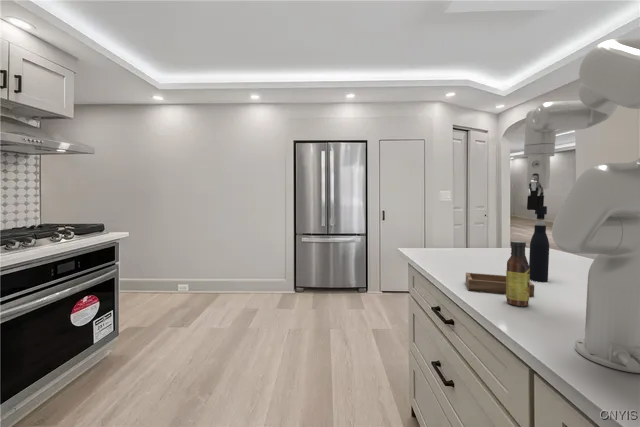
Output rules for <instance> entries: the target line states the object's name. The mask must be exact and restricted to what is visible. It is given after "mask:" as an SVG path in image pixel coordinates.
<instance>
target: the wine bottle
mask: <svg viewBox="0 0 640 427" xmlns="http://www.w3.org/2000/svg"><path fill="white" fill-rule="evenodd" d="M547 212H548V206H547V205H544V206H543V208H540V210H534V214H535V215H536V220H535V224H534V229H533V230H534V231H533V234H532V237H531V239H530V242H529V257H528V258H529V259H528V264H529V267H530V281H532V280H533V281H532V282H536V281H537V283H547V282H548V281H549V262H550V260H549V259H550V241H549V237H548V235H547V225H546V221H545V218H546V216H545V215H547V214H548V213H547Z"/></svg>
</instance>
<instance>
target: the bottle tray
mask: <svg viewBox="0 0 640 427" xmlns="http://www.w3.org/2000/svg"><path fill="white" fill-rule="evenodd" d="M529 283H530V284H529V286H530V287H529V298H534V297H535V285H534V284H533V283H532V281H530V282H529ZM465 285H466V288H467V290H468V292H475V293H476V292H477V293H487V294H496V295H497V294H498V295H506V275H502V274H500V275H499V274H488V273H478V272H477V273H475V272H474V273H473V272H465Z"/></svg>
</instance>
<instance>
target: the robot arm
mask: <svg viewBox="0 0 640 427" xmlns="http://www.w3.org/2000/svg"><path fill="white" fill-rule="evenodd" d="M578 75H579V80H580V82H581V83H580V85H579V87H578V97H579V99H580V100H560V101H559V100H557V101H555V100H553V101H546V102H543V103H540V104H539V105H538V106H537V107H536V108H534V109H530V110H529V111H528V112H527V113H526V115H525V127H524V146H523V158H527V167H526V168H527V169H526V170H527V171H526V188H527V189H528V195H527V199H526V200H527V203H526V210H528V211H535V210H540V208H543V206H545V201H544V200H545V195H544V193H545V192H544V191H547V190H548V189H549V188H550V175H551V173H550V172H551V157H554V156H555V151H556V150H555V149H556V136H557V135H556V134H557V131H569V130H570V131H576V130H577V131H579V130H585V129H589V128H592V127H594V126H597V125H598V124H600V123H602V122H605V121H607V120H608V119H610V118H611V117H612V115H613V114H614V113H615V111H617V108H618V106H621V107H623V108H627V109H632V110H633V109H634V110H640V37H622V38H620V37H619V38H610V39H607V40H604V41H602V42H600V43H598V44H597V45H596V46H594V47H593V48H591V49H590V50H589V51H588V53H586V55H585V56H584V57H583V59H582V61H581V64H580V66H579V72H578ZM551 228H552V229H551V236H552V240H553V242H554V245H555V246H556V247H558V248H559V249H561V250H562V251H565V252H567V253H571V254H587V255H588V254H589V255H597V256H596V257H595V258H594V260H593V261H592V262H591V263H590V266H589V269H588V274H587V286H586V287H587V288H586V307H585V324H584V325H585V326H584V327H585V328H584V338H582V339H578V340H575V343H574V348H575V350H576V352H577V353H579V355H581V356H582V357H584V358H586V359H588V360H589V361H592V362H594V363H597V365H598V364H599V365H602V366H604V367H607V368H611V369H614V370H618V371H622V372H627V373H634V374H640V157H638V159H635V160H634V161H630V162H607V163H599V164H596V165H594V166H591V167H589V168H588V169H587V170H585V171H584V172H583V173H581V175H579V177H578V178H577V179H576V180H575V183H574V184H573V185H572V187H571V188H570V190H569V193H568V195H567V196H566V198H565V200H564V201H563V204H562V205H561V207H560V209H559V210H558V212H557V214H556V216H555V218H554V220H553V224H552V227H551Z"/></svg>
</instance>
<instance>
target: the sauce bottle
mask: <svg viewBox="0 0 640 427" xmlns="http://www.w3.org/2000/svg"><path fill="white" fill-rule="evenodd" d="M510 247H511V248H510V249H511V250H510V257H509V258H508V259H507V261H506V270H505V271H506V272H505V276H506V294H505V298H506V303H508V304H509V305H512V306H515V307H527V306H528V305H529V301H530V297H529V287H530V286H529V284H530V283H529V282H531V280H530V267H529V260H528V259H527V256H526V247H527V242H526V241H524V240H523V241H522V240H511V241H510Z"/></svg>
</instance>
